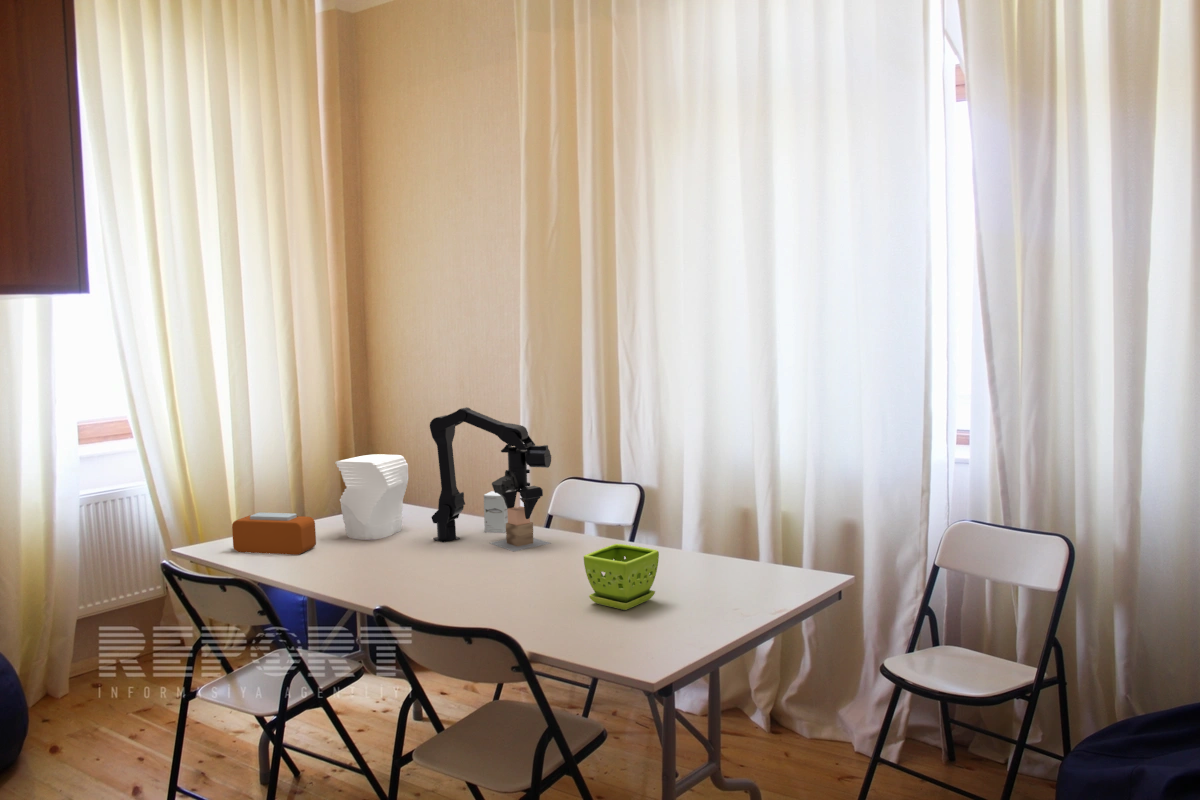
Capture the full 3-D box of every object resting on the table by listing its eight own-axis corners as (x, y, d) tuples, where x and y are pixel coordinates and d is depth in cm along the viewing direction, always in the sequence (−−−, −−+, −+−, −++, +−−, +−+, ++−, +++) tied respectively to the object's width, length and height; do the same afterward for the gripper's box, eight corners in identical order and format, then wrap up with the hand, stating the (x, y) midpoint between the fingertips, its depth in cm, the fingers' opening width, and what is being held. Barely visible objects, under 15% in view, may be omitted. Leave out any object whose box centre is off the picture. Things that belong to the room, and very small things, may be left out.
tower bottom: (506, 543, 289) (506, 532, 289) (522, 539, 293) (522, 529, 293) (517, 546, 285) (516, 536, 284) (533, 543, 289) (533, 533, 288)
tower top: (505, 533, 289) (505, 523, 288) (520, 529, 293) (520, 519, 293) (518, 536, 284) (518, 526, 284) (533, 532, 289) (533, 522, 288)
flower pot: (617, 590, 239) (616, 542, 238) (662, 600, 230) (661, 550, 229) (582, 604, 228) (581, 554, 227) (627, 615, 219) (626, 562, 218)
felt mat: (488, 543, 290) (488, 542, 290) (525, 536, 299) (525, 535, 299) (513, 552, 279) (513, 551, 279) (551, 544, 288) (551, 543, 288)
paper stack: (329, 538, 302) (325, 460, 299) (388, 521, 325) (385, 449, 322) (376, 546, 291) (372, 465, 288) (434, 527, 314) (431, 452, 311)
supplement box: (483, 532, 305) (482, 494, 304) (493, 527, 312) (491, 490, 311) (504, 533, 303) (503, 495, 302) (513, 528, 310) (512, 491, 309)
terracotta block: (507, 522, 289) (507, 508, 288) (521, 520, 292) (520, 506, 291) (516, 525, 285) (516, 511, 284) (530, 522, 288) (529, 508, 288)
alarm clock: (316, 548, 290) (315, 512, 289) (302, 555, 282) (300, 518, 281) (249, 545, 296) (247, 510, 295) (233, 552, 288) (230, 516, 287)
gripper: (479, 466, 289) (480, 515, 290) (512, 473, 274) (514, 525, 276) (509, 462, 296) (510, 510, 297) (543, 469, 281) (544, 519, 283)
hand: (519, 516), depth 288 cm, fingers open, 9 cm apart
